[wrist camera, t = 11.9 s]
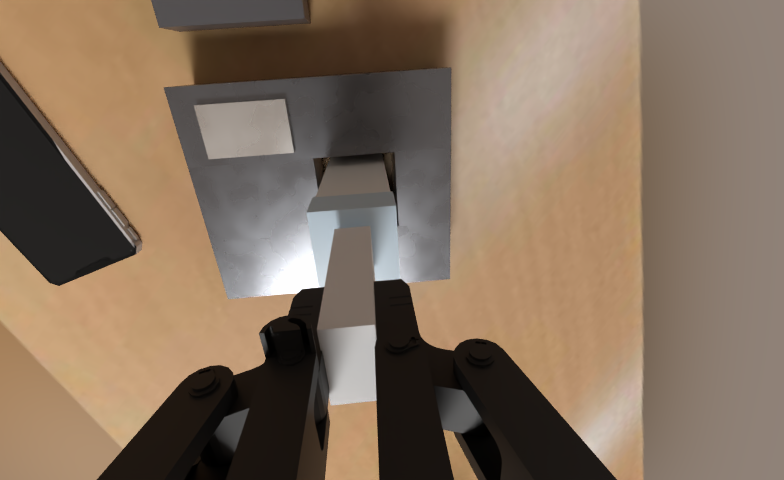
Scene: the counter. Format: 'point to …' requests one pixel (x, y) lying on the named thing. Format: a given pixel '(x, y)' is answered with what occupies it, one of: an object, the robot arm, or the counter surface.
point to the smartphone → (53, 197)
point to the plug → (355, 212)
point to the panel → (313, 167)
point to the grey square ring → (228, 13)
